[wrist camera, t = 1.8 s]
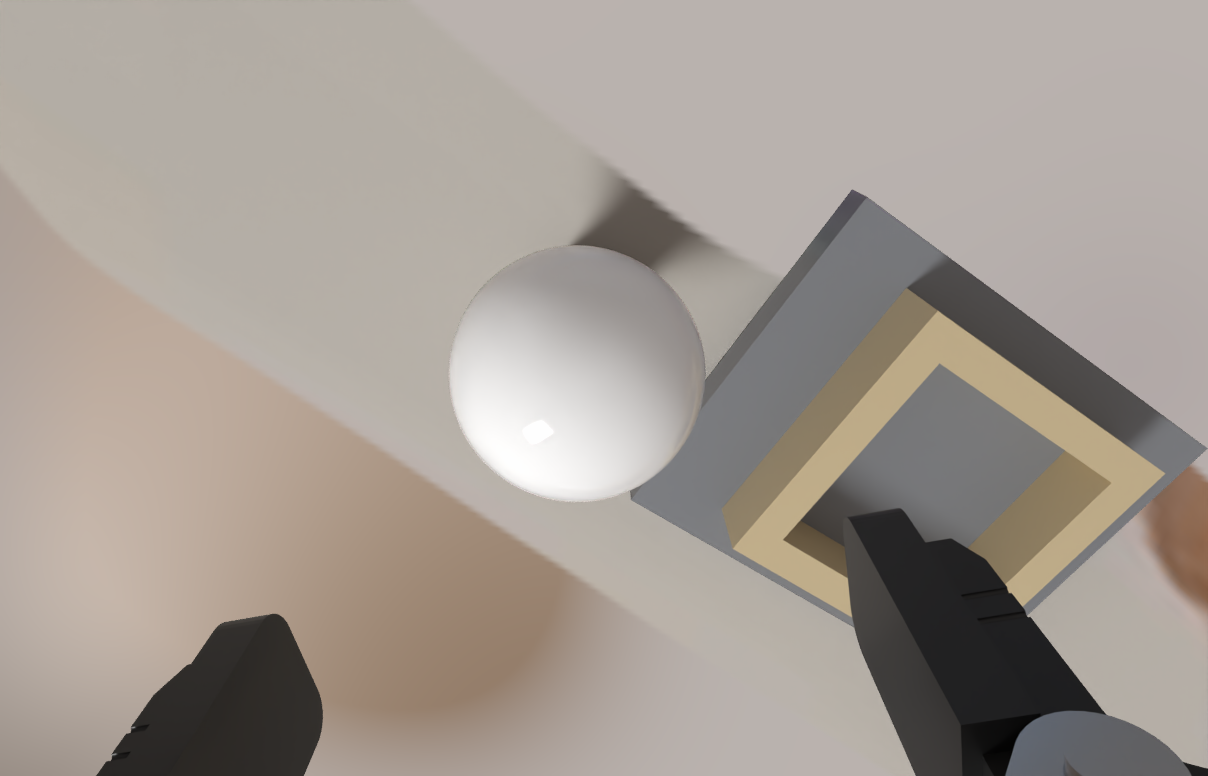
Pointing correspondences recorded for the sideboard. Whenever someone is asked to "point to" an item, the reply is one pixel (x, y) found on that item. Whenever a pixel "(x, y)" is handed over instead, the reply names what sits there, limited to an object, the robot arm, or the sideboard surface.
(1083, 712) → the robot arm
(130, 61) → the sideboard surface
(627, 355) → the lightbulb
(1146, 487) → the bulb socket
